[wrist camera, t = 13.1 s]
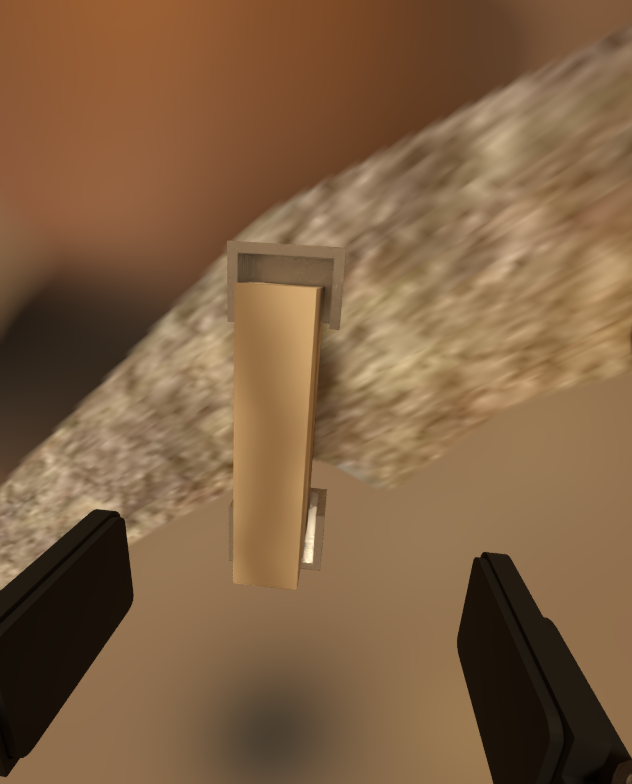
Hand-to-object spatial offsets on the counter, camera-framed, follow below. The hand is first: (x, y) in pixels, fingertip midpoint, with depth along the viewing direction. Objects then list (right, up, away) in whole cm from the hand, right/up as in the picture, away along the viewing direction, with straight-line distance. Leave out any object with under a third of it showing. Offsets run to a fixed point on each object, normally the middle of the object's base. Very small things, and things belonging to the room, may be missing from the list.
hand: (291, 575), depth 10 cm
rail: (-1, +3, +17) cm, 18 cm away
